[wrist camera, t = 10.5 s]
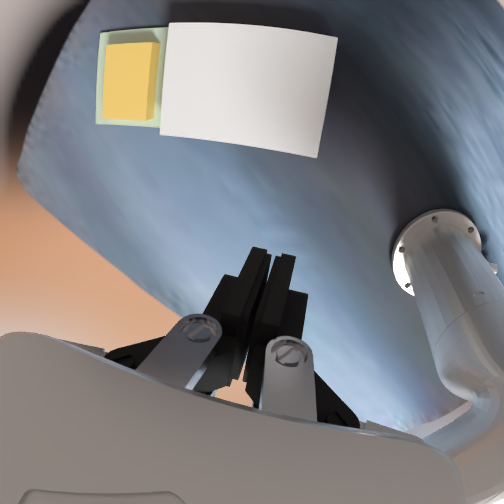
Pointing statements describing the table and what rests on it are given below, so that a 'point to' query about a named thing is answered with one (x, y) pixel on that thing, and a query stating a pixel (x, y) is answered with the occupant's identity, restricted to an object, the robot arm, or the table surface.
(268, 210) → the table surface
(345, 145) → the table surface
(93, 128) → the table surface
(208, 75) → the plate
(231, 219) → the table surface
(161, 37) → the mat
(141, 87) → the tile
